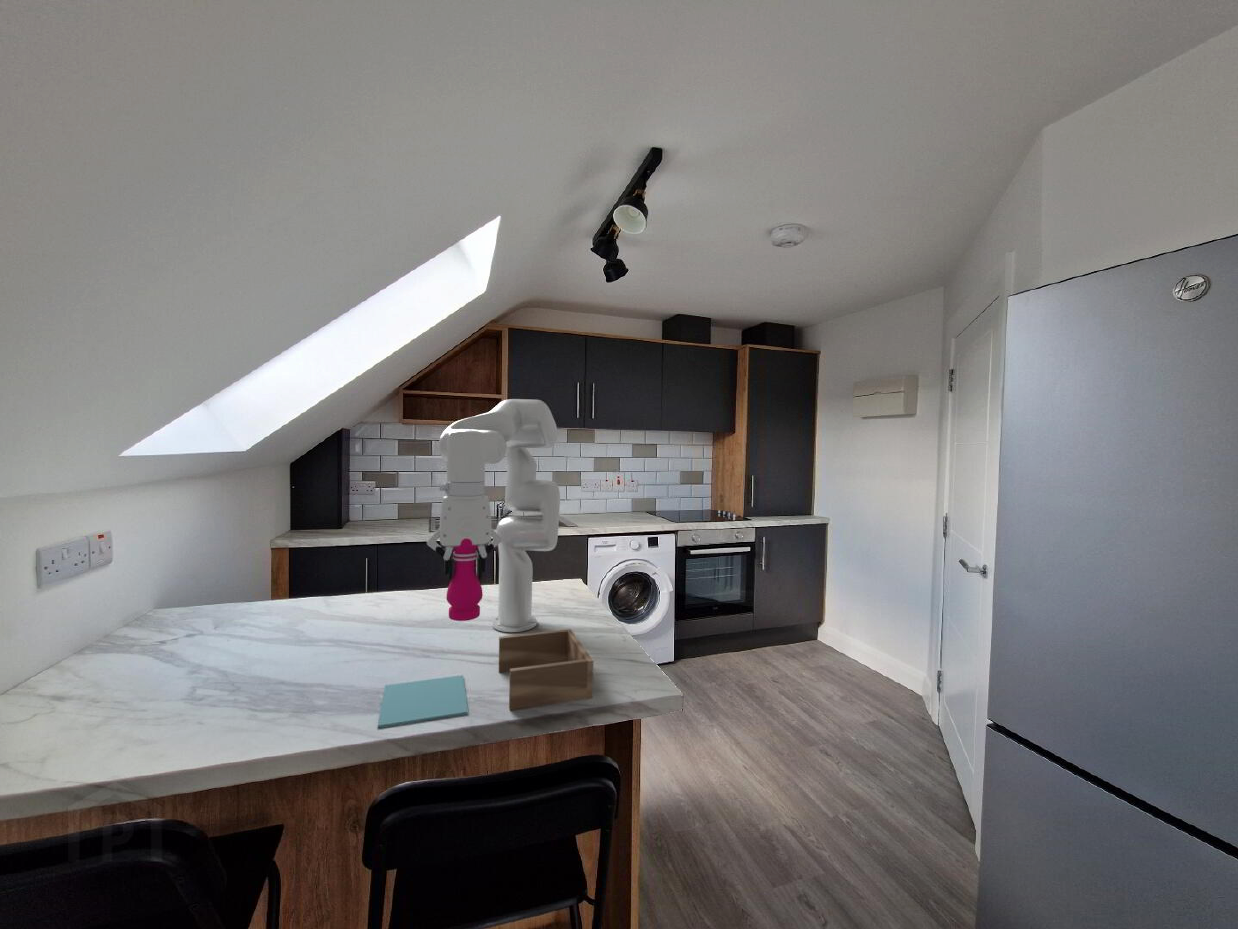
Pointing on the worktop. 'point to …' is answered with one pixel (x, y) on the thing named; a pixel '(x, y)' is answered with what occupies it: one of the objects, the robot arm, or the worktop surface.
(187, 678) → the worktop surface
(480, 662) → the worktop surface
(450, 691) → the mat
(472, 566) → the pepper mill
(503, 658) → the open side box
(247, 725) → the worktop surface
